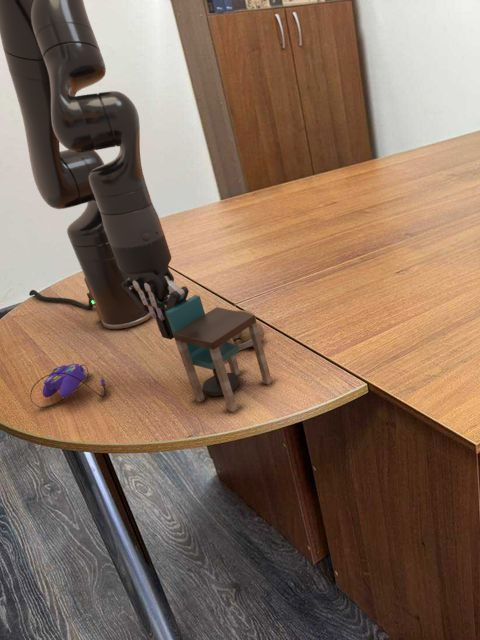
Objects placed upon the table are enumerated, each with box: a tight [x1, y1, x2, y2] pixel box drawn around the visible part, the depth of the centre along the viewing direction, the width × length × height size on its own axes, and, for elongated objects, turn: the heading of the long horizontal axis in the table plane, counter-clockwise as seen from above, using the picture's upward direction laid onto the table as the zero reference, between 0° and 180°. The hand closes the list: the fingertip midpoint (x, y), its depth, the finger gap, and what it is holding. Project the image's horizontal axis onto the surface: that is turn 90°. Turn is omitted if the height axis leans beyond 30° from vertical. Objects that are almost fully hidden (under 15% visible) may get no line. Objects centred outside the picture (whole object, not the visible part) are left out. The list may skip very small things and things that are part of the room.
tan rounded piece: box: [231, 309, 265, 351], centre depth 118 cm, size 11×5×15 cm
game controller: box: [30, 363, 106, 409], centre depth 105 cm, size 10×8×10 cm
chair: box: [166, 294, 241, 397], centre depth 103 cm, size 6×6×15 cm
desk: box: [173, 306, 273, 413], centre depth 102 cm, size 8×9×12 cm
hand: (171, 336), depth 106 cm, fingers closed
